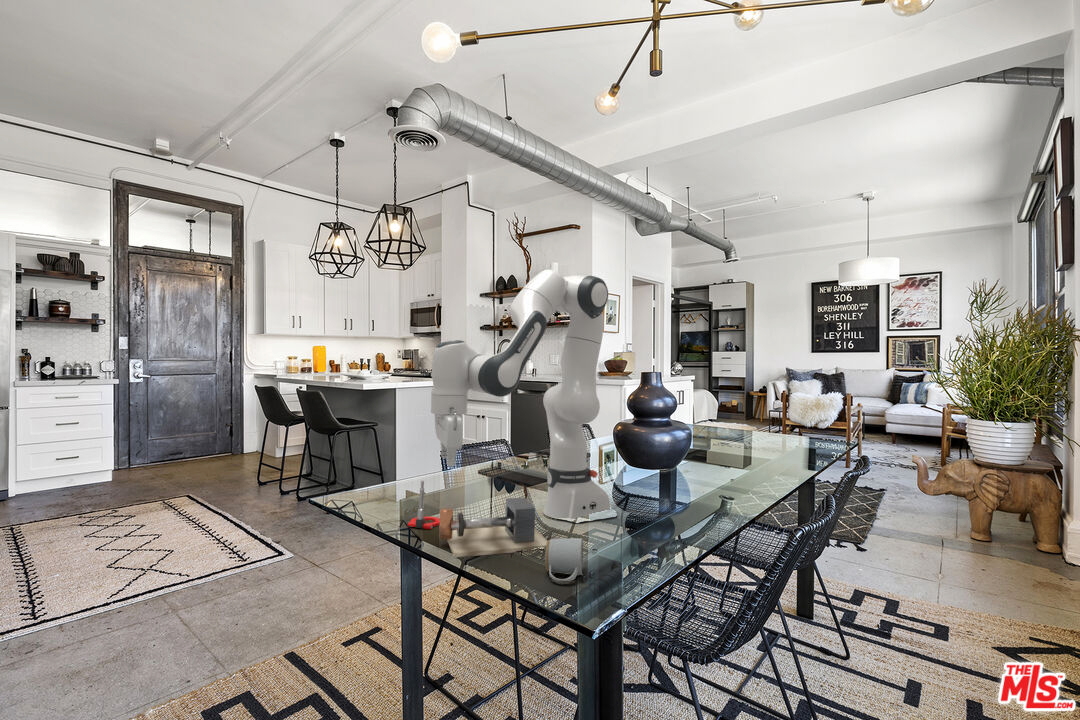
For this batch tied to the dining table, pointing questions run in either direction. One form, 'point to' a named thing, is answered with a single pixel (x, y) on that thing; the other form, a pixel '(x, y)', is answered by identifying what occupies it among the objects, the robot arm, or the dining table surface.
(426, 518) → the tow hook
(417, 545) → the dining table surface
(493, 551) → the base board
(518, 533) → the eye bracket
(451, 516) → the flanged metal rod
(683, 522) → the dining table surface
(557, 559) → the ceramic mug
